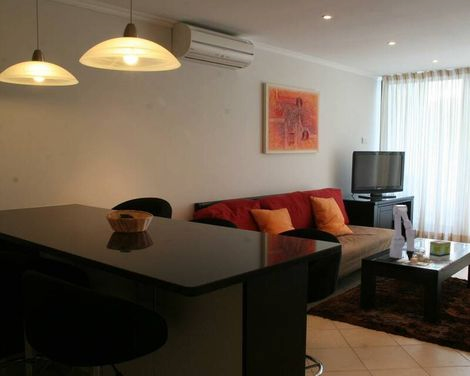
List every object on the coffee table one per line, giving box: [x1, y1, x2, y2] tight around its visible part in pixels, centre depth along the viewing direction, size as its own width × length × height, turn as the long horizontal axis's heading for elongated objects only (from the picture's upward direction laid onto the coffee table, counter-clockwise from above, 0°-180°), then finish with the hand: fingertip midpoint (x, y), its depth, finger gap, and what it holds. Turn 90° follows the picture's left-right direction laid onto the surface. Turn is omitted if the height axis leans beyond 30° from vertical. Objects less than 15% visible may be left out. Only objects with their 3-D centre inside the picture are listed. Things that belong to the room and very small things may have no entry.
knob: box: [410, 258, 418, 263], centre depth 370 cm, size 4×4×3 cm
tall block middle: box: [415, 252, 424, 262], centre depth 378 cm, size 4×4×6 cm
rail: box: [396, 258, 430, 267], centre depth 371 cm, size 22×8×1 cm, turn 48°
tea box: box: [428, 239, 451, 262], centre depth 387 cm, size 15×10×15 cm
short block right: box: [423, 256, 431, 264], centre depth 374 cm, size 4×4×4 cm
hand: (409, 260), depth 372 cm, fingers closed
